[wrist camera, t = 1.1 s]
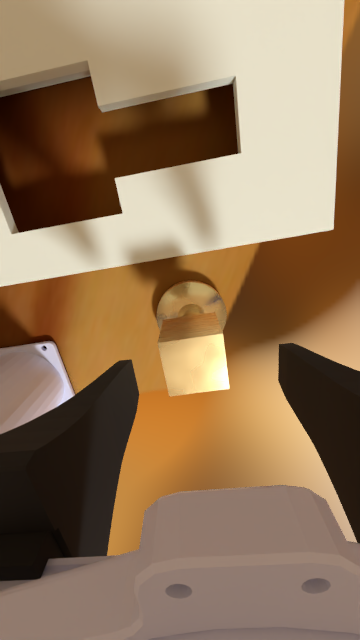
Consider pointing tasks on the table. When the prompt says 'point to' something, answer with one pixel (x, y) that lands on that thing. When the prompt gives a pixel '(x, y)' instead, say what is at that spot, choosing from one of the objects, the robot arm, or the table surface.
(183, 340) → the keyhole peg
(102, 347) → the table surface
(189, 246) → the keyhole plate
